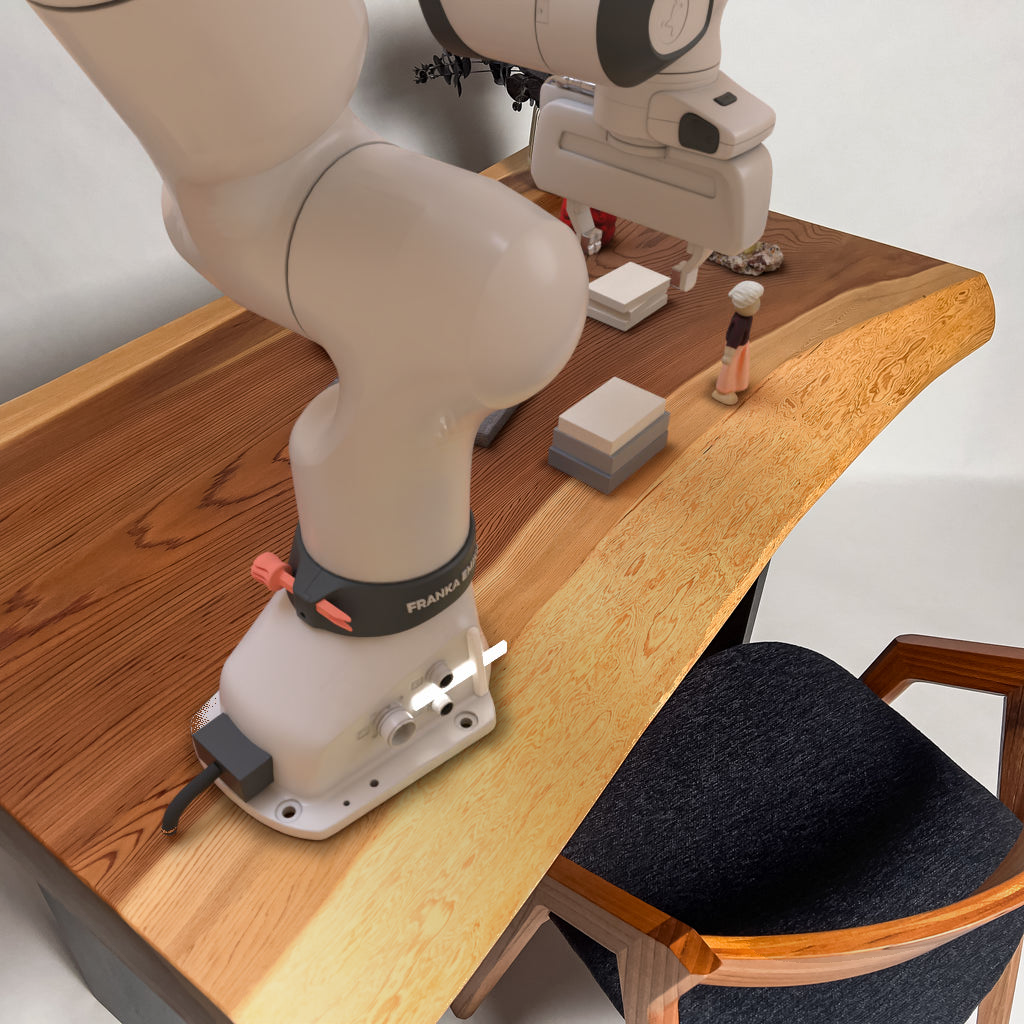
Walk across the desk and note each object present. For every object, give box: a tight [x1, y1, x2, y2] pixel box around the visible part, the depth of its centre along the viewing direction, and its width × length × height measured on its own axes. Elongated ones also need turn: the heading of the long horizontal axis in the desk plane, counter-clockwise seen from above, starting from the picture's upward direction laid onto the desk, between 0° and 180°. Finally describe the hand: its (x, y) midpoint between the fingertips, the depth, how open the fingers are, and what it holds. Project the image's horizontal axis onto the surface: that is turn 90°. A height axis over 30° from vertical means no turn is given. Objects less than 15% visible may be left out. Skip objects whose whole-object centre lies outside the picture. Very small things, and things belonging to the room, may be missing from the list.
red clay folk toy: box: [558, 197, 618, 249], centre depth 123 cm, size 8×7×15 cm
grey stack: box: [547, 410, 671, 496], centre depth 92 cm, size 10×7×4 cm
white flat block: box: [557, 376, 667, 456], centre depth 90 cm, size 9×6×2 cm, turn 141°
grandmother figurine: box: [711, 280, 765, 406], centre depth 98 cm, size 8×4×13 cm, turn 168°
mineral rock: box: [707, 240, 785, 277], centre depth 125 cm, size 11×4×8 cm
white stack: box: [587, 261, 672, 332], centre depth 114 cm, size 10×7×4 cm
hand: (633, 268), depth 80 cm, fingers open, 8 cm apart
